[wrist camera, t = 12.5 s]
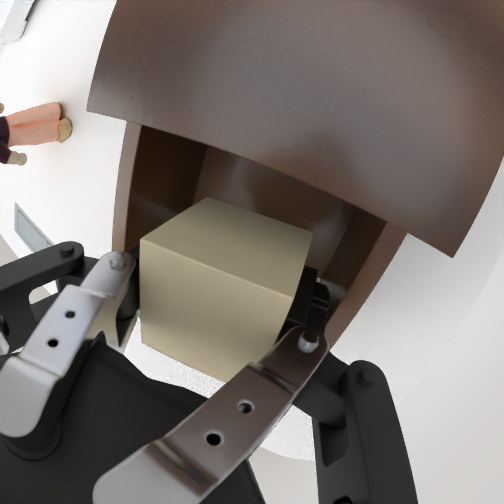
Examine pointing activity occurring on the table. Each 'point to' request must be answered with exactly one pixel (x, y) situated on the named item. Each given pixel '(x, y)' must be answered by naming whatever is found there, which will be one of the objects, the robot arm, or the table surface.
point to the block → (218, 285)
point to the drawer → (256, 200)
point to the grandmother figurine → (31, 130)
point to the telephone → (13, 18)
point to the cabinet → (326, 95)
